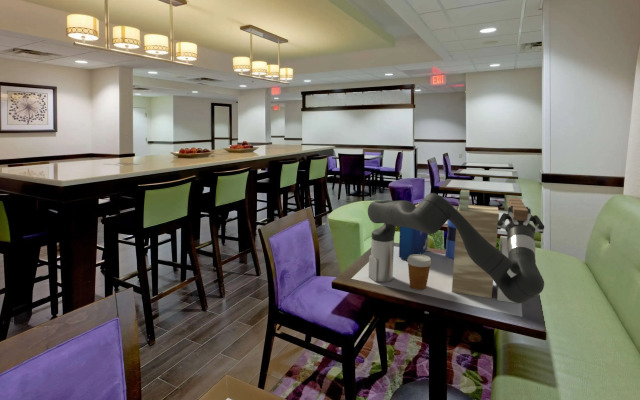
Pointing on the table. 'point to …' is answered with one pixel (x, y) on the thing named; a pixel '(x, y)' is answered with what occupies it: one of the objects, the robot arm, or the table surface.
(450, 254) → the water bottle
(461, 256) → the birch rack
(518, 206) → the walnut block
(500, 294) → the grey rectangular block
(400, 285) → the table surface
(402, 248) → the book
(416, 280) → the disposable coffee cup
